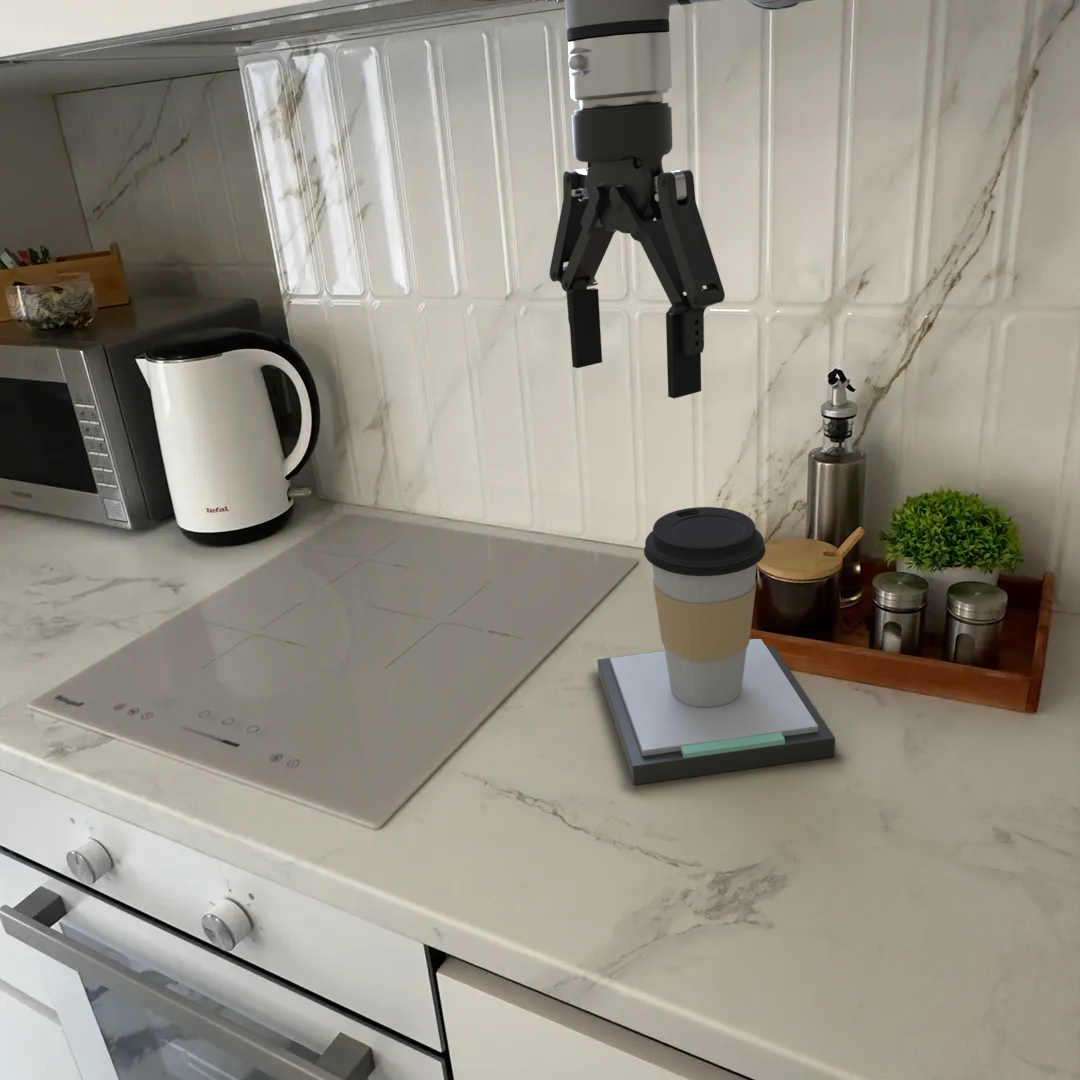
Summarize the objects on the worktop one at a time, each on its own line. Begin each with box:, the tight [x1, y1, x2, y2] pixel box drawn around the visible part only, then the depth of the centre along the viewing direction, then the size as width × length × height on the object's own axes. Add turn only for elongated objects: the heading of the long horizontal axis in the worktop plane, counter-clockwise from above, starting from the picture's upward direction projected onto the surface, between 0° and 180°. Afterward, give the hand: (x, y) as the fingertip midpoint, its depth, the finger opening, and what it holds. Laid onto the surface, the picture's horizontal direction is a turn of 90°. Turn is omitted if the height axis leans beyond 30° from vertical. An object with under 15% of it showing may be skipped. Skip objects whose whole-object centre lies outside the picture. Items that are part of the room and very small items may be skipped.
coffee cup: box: [643, 506, 766, 708], centre depth 79 cm, size 9×9×15 cm
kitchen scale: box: [597, 638, 836, 786], centre depth 83 cm, size 16×16×2 cm
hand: (632, 378), depth 82 cm, fingers open, 13 cm apart
